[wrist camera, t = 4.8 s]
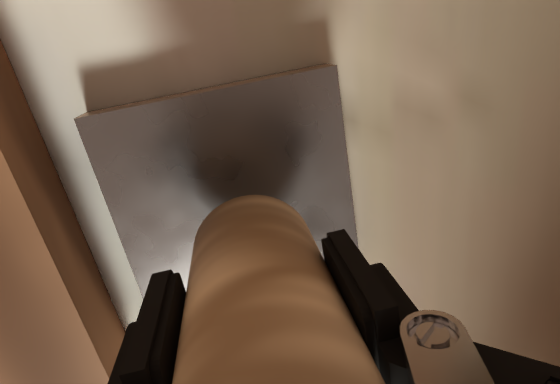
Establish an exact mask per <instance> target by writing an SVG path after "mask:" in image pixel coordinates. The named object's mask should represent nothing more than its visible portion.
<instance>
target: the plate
mask: <svg viewBox="0 0 560 384" xmlns="http://www.w3.org/2000/svg"><path fill="white" fill-rule="evenodd" d="M74 121H75V123H76V126H77V128H78V131H79V134H80V136H81V139H82V141H83V144H84V147H85V149H86V152H87V154H88V157H89V159H90V162H91V165H92V167H93V170H94V172H95V175H96V178H97V180H98V183H99V185H100V188H101V191H102V193H103V196H104V198H105V201H106V204H107V206H108V209H109V211H110V214H111V216H112V219H113V222H114V224H115V227H116V229H117V232H118V235H119V237H120V240H121V242H122V245H123V248H124V250H125V253H126V255H127V258H128V261H129V263H130V266H131V268H132V271H133V273H134V276H135V279H136V281H137V284H138V286H139V289H140V292H141V294H142V297H143V299H144V296H145V293H146V290H147V287H148V284H149V281H150V278H151V275H152V274H153V273H157V272H162V271H166V270H170V269H171V270H172V271H173V273H178V272H179V273H180V275H181V278H182V281H183V284H184V287H185V291H186V290H187V284H188V277H189V271H190V265H191V258H192V252H193V245H194V240H195V236H196V233H197V231H198V228H199V227H200V225H201V223H202V222H203V220H204V219H205V218H206V216H207V215H208V214H209V213H210V212H211V211H212V210H214V209H215V208H216V207H218V206H219V205H221V204H223V203H224V202H226V201H229V200H231V199H233V198H237V197H240V196H246V195H265V196H269V197H274V198H276V199H279V200H281V201H283V202H285V203H287V204H288V205H290V206H291V207H293V208H294V209H295V210H296V211H297V212H298V213H299V214H300V215H301V217H302V218H303V219H304V221H305V223H306V225H307V227H308V229H309V231H310V233H311V235H312V237H313V239H314V241H315V243H316V245H317V247H318V249H319V251H320V253H321V255H322V257H323V259H324V255H323V249H322V242H321V239H323V238H327V233H329V232H333V231H337V230H342V229H345V230H346V232H347V233H348V235H349V236H350V238H351V239H352V240H353V242H354V243H355V245H356V246H357V248H358V241H357V233H356V224H355V216H354V208H353V199H352V191H351V182H350V174H349V165H348V157H347V148H346V140H345V131H344V123H343V115H342V106H341V98H340V89H339V81H338V72H337V65H333V64H321V65H316V66H312V67H307V68H302V69H297V70H292V71H287V72H282V73H277V74H272V75H267V76H262V77H257V78H253V79H248V80H243V81H238V82H233V83H228V84H223V85H218V86H213V87H208V88H203V89H198V90H194V91H189V92H184V93H179V94H174V95H169V96H164V97H159V98H154V99H149V100H144V101H139V102H135V103H130V104H125V105H120V106H115V107H110V108H105V109H100V110H95V111H90V112H86V113H84V114H82V115H80V116H78V117H76V118H74Z"/></svg>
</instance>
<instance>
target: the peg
mask: <svg viewBox="0 0 560 384" xmlns="http://www.w3.org/2000/svg"><path fill="white" fill-rule="evenodd" d="M172 384H385V382H384V380H383V378H382V376H381V374H380V372H379V370H378V368H377V366H376V364H375V362H374V360H373V358H372V356H371V354H370V352H369V350H368V348H367V346H366V344H365V342H364V340H363V338H362V336H361V334H360V332H359V330H358V327H357V325H356V323H355V321H354V319H353V317H352V315H351V313H350V311H349V309H348V307H347V305H346V303H345V301H344V299H343V297H342V295H341V293H340V291H339V289H338V287H337V285H336V283H335V281H334V279H333V277H332V275H331V273H330V271H329V269H328V267H327V265H326V263H325V261H324V259H323V257H322V255H321V253H320V251H319V249H318V247H317V245H316V243H315V241H314V239H313V237H312V235H311V233H310V231H309V229H308V227H307V225H306V223H305V221H304V219H303V218H302V217H301V215H300V214H299V213H298V212H297V211H296V210H295V209H294V208H293V207H291V206H290V205H288V204H287V203H285V202H283V201H281V200H279V199H276V198H274V197H269V196H265V195H246V196H240V197H237V198H233V199H231V200H229V201H226V202H224V203H223V204H221V205H219V206H218V207H216V208H215V209H214V210H212V211H211V212H210V213H209V214H208V215H207V216H206V218H205V219H204V220H203V222H202V223H201V225H200V227H199V228H198V231H197V233H196V236H195V240H194V245H193V252H192V258H191V265H190V271H189V277H188V284H187V290H186V297H185V303H184V309H183V316H182V322H181V329H180V335H179V341H178V348H177V354H176V361H175V367H174V373H173V380H172Z"/></svg>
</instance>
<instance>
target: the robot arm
mask: <svg viewBox="0 0 560 384" xmlns="http://www.w3.org/2000/svg"><path fill="white" fill-rule="evenodd" d="M321 242H322V249H323V255H324V261H325V263H326V265H327V267H328V269H329V271H330V273H331V275H332V277H333V279H334V281H335V283H336V285H337V287H338V289H339V291H340V293H341V295H342V297H343V299H344V301H345V303H346V305H347V307H348V309H349V311H350V313H351V315H352V317H353V319H354V321H355V323H356V325H357V327H358V330H359V332H360V334H361V336H362V338H363V340H364V342H365V344H366V346H367V348H368V350H369V352H370V354H371V356H372V358H373V360H374V362H375V364H376V366H377V368H378V370H379V372H380V374H381V376H382V378H383V380H384V382H385V384H560V367H558V366H554V365H551V364H547V363H544V362H541V361H537V360H534V359H530V358H527V357H523V356H520V355H517V354H513V353H510V352H506V351H503V350H499V349H496V348H493V347H489V346H486V345H482V344H479V343H475V342H473V341H472V339H471V337H470V336H469V334H468V332H467V330H466V328H465V327H464V325H463V324H462V323H461V321H459V320H458V319H456V318H455V317H454V316H452V315H450V314H447V313H445V312H441V311H436V310H422V311H419V310H418V309H417V308H416V306H415V305H414V304H413V302H412V301H411V300H410V299H409V297H408V296H407V295H406V293H405V292H404V291H403V289H402V288H401V287H400V286H399V284H398V283H397V282H396V280H395V279H394V278H393V276H392V275H391V274H390V273H389V271H388V270H387V269H386V267H385V266H384V265H383V264H382V263H377V264H373V265H369V263H368V262H367V260H366V259H365V258H364V256H363V255H362V253H361V252H360V250H359V249H358V248H357V246H356V245H355V243H354V242H353V240H352V239H351V238H350V236H349V235H348V233H347V232H346V230H345V229H342V230H337V231H333V232H329V233H327V238H323V239H321ZM185 297H186V291H185V287H184V284H183V281H182V278H181V275H180V273H179V272H178V273H173V271H172V270H171V269H170V270H166V271H162V272H157V273H153V274H152V275H151V278H150V281H149V284H148V287H147V290H146V293H145V296H144V299H143V302H142V305H141V309H140V312H139V315H138V318H137V321H136V322H132V323H130V324H129V325H128V327H127V330H126V332H125V335H124V338H123V341H122V344H121V347H120V349H119V352H118V355H117V358H116V361H115V364H114V367H113V369H112V372H111V375H110V378H109V381H108V384H172V380H173V373H174V367H175V361H176V354H177V348H178V341H179V335H180V329H181V322H182V316H183V309H184V303H185Z"/></svg>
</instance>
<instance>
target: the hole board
mask: <svg viewBox="0 0 560 384" xmlns="http://www.w3.org/2000/svg"><path fill="white" fill-rule="evenodd" d="M124 335H125V331H124V329H123V327H122V324H121V322H120V320H119V317H118V315H117V313H116V310H115V308H114V305H113V303H112V301H111V298H110V296H109V294H108V291H107V289H106V287H105V284H104V282H103V280H102V277H101V275H100V273H99V270H98V268H97V266H96V263H95V261H94V258H93V256H92V254H91V251H90V249H89V247H88V244H87V242H86V240H85V237H84V235H83V233H82V230H81V228H80V226H79V223H78V221H77V219H76V216H75V214H74V212H73V209H72V207H71V204H70V202H69V200H68V197H67V195H66V193H65V190H64V188H63V186H62V183H61V181H60V179H59V176H58V174H57V172H56V169H55V167H54V165H53V162H52V160H51V157H50V155H49V153H48V150H47V148H46V146H45V143H44V141H43V139H42V136H41V134H40V132H39V129H38V127H37V125H36V122H35V120H34V118H33V115H32V113H31V110H30V108H29V106H28V103H27V101H26V99H25V96H24V94H23V92H22V89H21V87H20V85H19V82H18V80H17V78H16V75H15V73H14V71H13V68H12V66H11V63H10V61H9V59H8V56H7V54H6V52H5V49H4V47H3V45H2V42H1V40H0V384H108V381H109V378H110V375H111V372H112V369H113V367H114V364H115V361H116V358H117V355H118V352H119V349H120V347H121V344H122V341H123V338H124Z"/></svg>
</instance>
